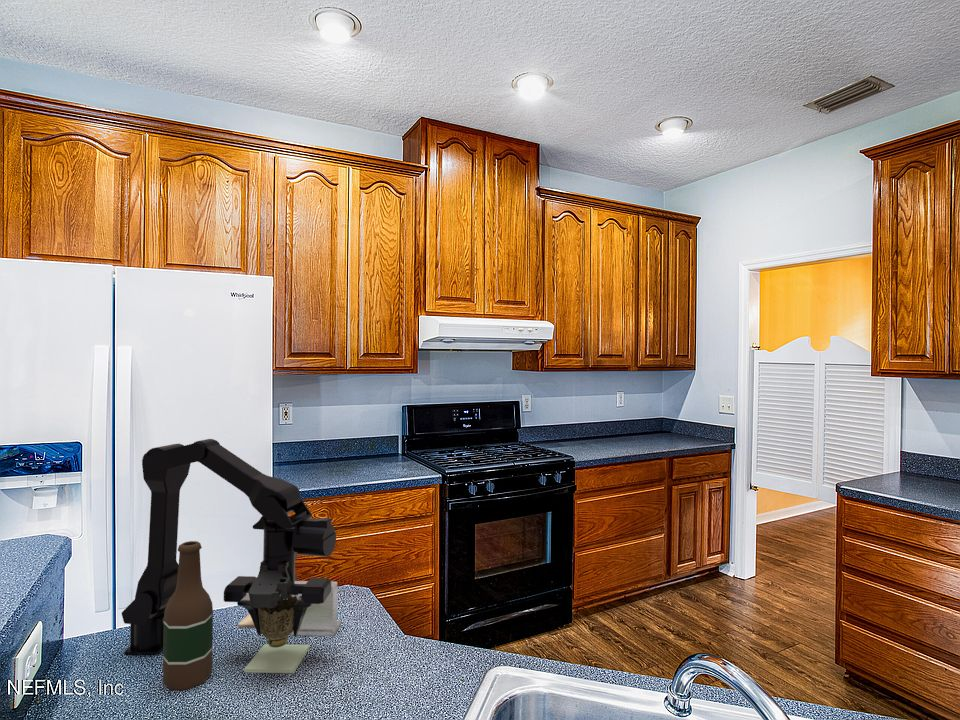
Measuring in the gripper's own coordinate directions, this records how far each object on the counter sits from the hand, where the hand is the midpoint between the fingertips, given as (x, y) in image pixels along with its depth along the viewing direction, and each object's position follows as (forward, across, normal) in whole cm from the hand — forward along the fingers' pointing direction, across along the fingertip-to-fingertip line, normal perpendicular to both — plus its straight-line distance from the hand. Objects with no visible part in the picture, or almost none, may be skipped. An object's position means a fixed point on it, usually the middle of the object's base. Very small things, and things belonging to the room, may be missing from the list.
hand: (277, 634), depth 104 cm
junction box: (+5, +3, +12) cm, 13 cm away
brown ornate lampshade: (+2, 0, 0) cm, 2 cm away
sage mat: (+5, 0, 0) cm, 5 cm away
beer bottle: (+5, -13, -7) cm, 16 cm away
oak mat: (+5, -9, +17) cm, 20 cm away
